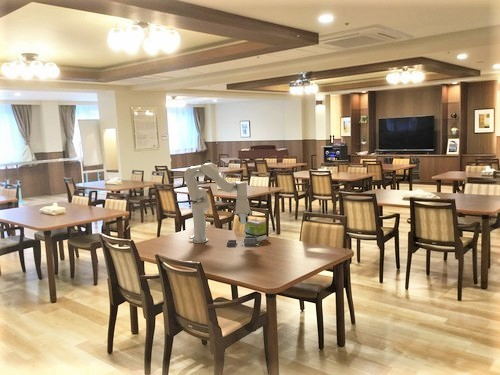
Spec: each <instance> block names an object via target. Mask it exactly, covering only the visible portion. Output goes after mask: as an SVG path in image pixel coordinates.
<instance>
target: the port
mask: <svg viewBox="0 0 500 375" xmlns="http://www.w3.org/2000/svg"><path fill="white" fill-rule="evenodd" d="M260 244H261V241H257V240H256V236H245V235H244V239H243V241H241V243H240V246H241V247H258V248H259V247H260Z"/></svg>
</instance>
